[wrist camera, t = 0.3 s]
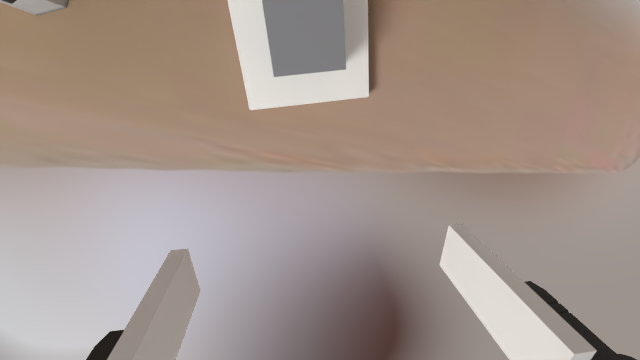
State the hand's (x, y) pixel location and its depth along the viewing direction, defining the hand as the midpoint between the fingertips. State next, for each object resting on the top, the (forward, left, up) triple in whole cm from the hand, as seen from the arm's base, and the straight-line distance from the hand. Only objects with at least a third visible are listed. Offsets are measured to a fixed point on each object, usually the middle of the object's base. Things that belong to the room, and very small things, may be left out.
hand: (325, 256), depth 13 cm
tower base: (-12, +2, -27) cm, 29 cm away
